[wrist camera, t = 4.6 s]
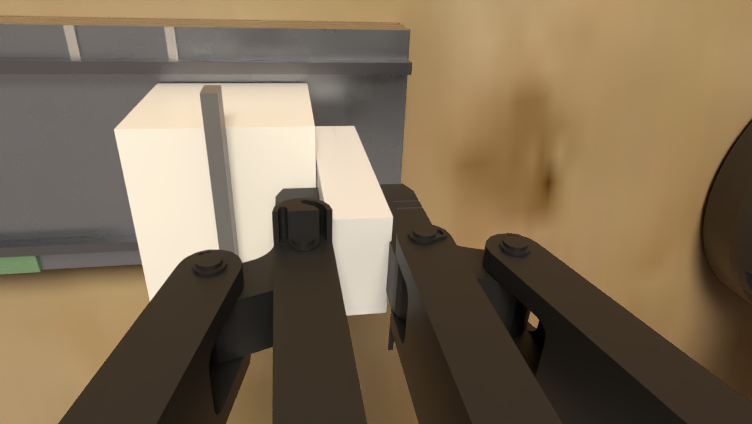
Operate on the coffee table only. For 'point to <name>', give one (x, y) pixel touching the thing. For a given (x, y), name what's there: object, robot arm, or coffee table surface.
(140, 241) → the cream block with fin
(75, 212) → the base
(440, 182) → the coffee table surface
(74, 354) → the coffee table surface
